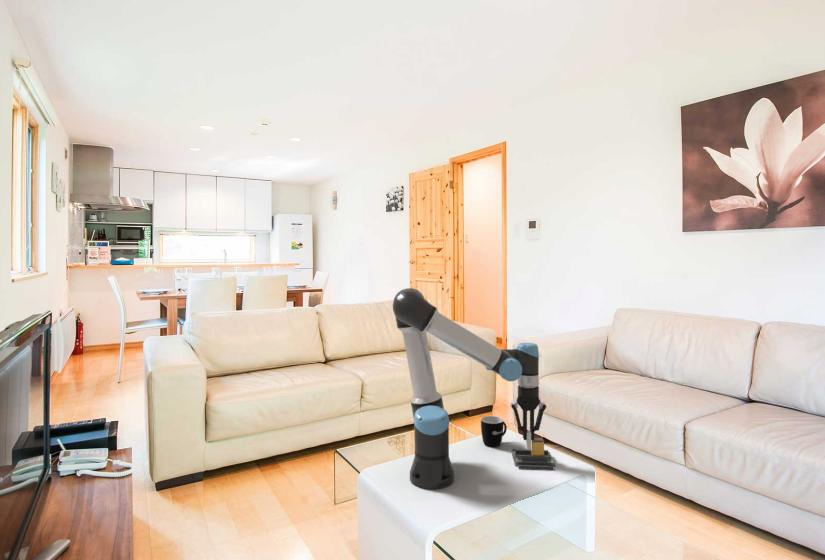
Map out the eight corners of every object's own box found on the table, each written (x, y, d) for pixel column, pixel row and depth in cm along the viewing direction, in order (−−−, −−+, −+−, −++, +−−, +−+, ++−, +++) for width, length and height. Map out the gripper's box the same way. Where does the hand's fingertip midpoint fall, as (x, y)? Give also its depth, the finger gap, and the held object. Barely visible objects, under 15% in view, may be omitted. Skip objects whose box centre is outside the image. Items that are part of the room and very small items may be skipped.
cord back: (512, 452, 183) (512, 449, 182) (512, 451, 184) (512, 448, 183) (541, 454, 181) (541, 451, 181) (541, 453, 182) (541, 450, 182)
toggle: (532, 458, 173) (532, 440, 173) (531, 455, 176) (531, 437, 176) (544, 459, 172) (544, 441, 172) (542, 455, 176) (542, 437, 175)
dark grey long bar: (519, 469, 168) (519, 466, 168) (518, 467, 169) (518, 465, 169) (553, 470, 167) (553, 467, 167) (552, 468, 168) (552, 466, 168)
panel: (515, 466, 170) (515, 458, 170) (512, 454, 180) (512, 447, 180) (555, 467, 169) (555, 459, 169) (549, 455, 179) (549, 448, 179)
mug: (490, 450, 185) (490, 424, 184) (476, 442, 192) (476, 418, 192) (513, 444, 191) (513, 419, 190) (498, 437, 198) (498, 413, 198)
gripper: (511, 387, 170) (511, 452, 171) (548, 388, 169) (548, 453, 170) (509, 382, 178) (509, 444, 179) (544, 382, 177) (544, 444, 178)
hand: (528, 448), depth 174 cm, fingers closed
